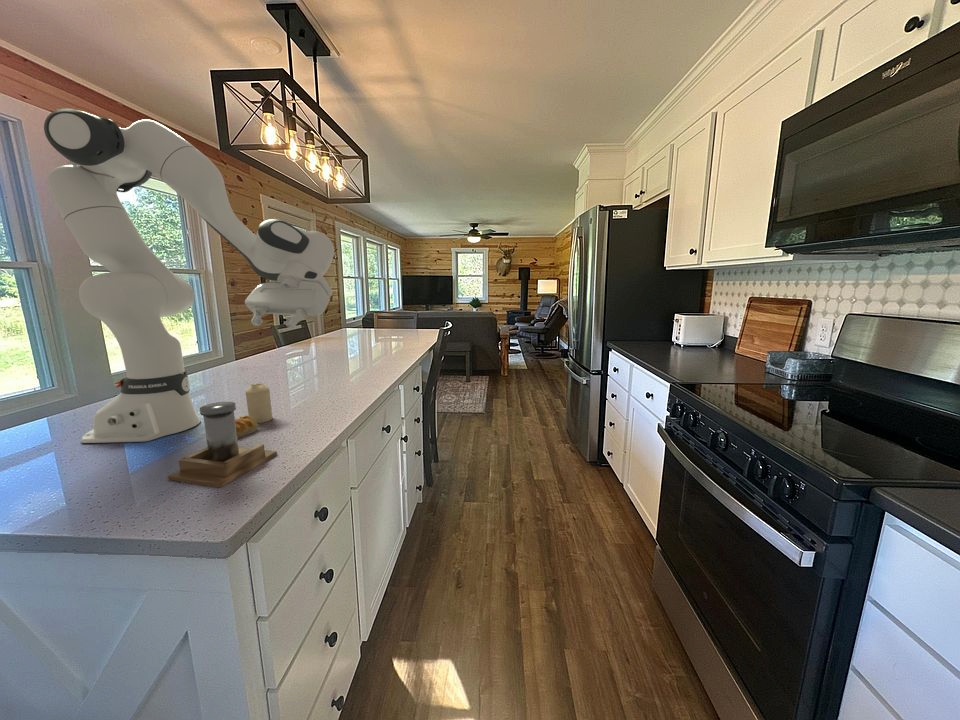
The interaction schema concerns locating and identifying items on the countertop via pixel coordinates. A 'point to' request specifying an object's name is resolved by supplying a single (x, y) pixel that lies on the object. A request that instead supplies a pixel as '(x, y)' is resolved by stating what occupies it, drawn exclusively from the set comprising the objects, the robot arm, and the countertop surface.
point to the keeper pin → (220, 430)
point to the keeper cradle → (219, 466)
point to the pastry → (245, 426)
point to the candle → (259, 403)
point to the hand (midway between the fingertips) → (271, 325)
